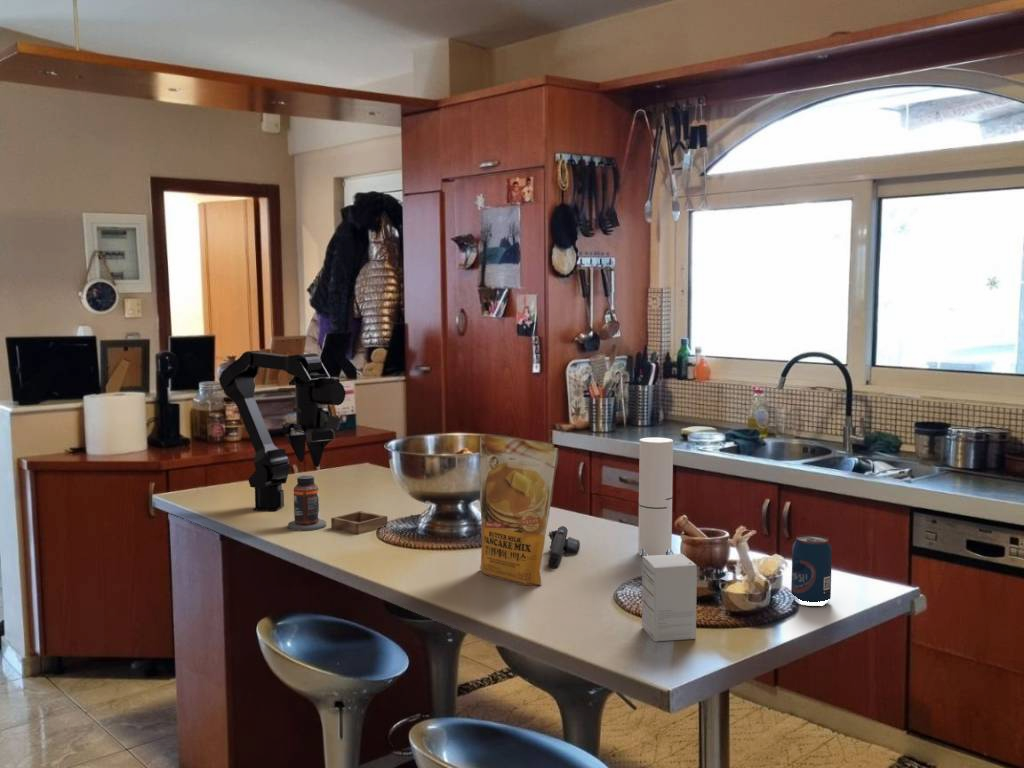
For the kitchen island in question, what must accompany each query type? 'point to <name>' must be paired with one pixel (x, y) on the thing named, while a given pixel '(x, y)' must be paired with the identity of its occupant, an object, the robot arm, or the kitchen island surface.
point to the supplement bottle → (306, 501)
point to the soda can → (811, 568)
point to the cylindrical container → (655, 495)
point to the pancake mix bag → (515, 505)
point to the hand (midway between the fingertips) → (309, 464)
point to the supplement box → (669, 597)
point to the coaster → (307, 526)
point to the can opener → (561, 546)
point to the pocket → (358, 522)
